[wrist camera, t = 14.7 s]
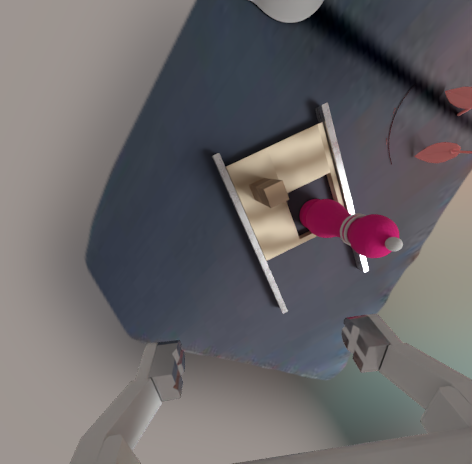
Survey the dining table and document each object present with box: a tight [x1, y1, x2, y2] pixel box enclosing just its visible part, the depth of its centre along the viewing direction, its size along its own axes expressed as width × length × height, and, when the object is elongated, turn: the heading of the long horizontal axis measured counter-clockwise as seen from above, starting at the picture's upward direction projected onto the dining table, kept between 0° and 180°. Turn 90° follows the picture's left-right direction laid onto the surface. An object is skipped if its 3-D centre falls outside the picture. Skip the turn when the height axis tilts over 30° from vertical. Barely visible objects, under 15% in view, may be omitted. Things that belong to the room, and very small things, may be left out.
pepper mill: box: [299, 199, 403, 258], centre depth 35 cm, size 7×7×20 cm
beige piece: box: [226, 122, 345, 261], centre depth 37 cm, size 20×19×10 cm
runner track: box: [212, 103, 369, 314], centre depth 43 cm, size 36×22×2 cm, turn 24°
